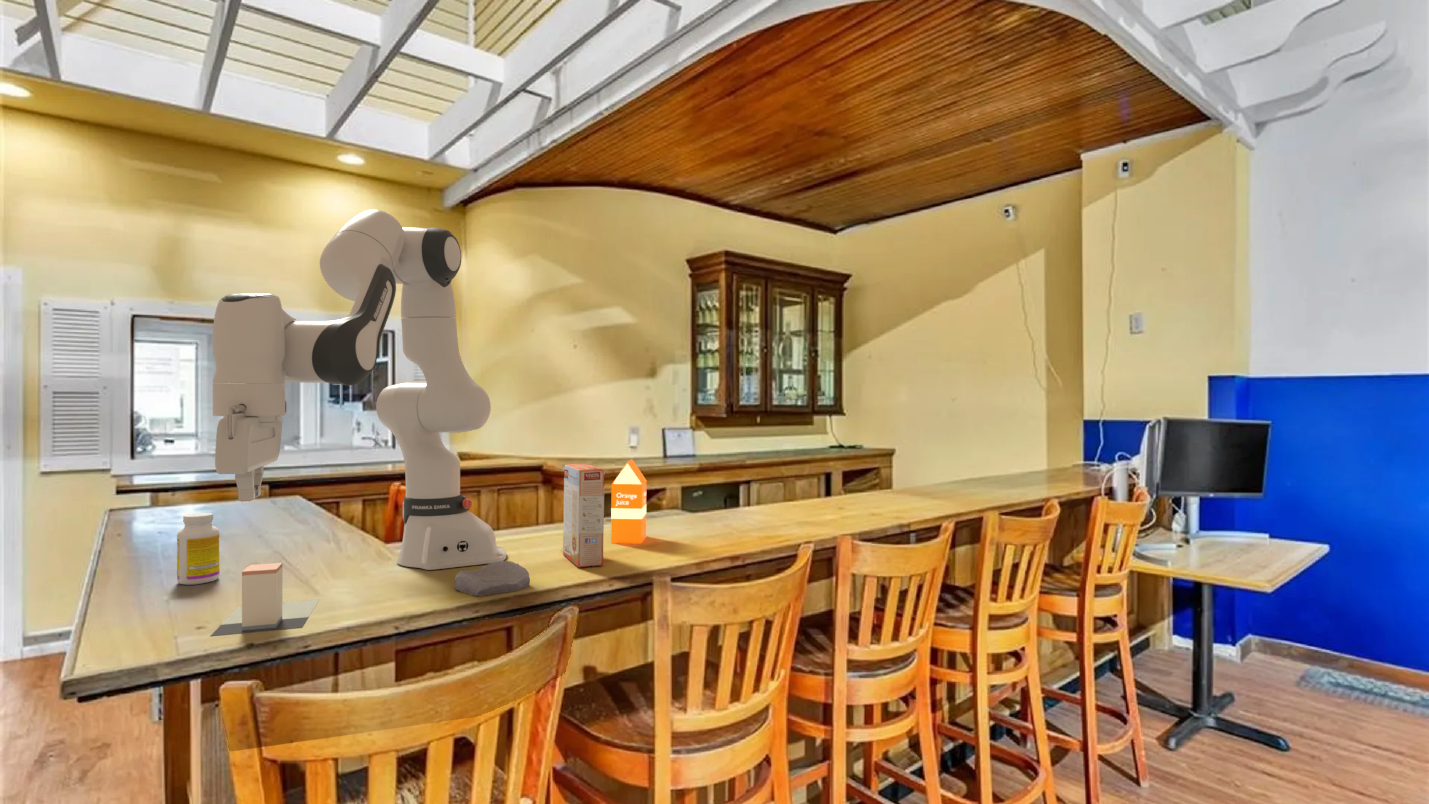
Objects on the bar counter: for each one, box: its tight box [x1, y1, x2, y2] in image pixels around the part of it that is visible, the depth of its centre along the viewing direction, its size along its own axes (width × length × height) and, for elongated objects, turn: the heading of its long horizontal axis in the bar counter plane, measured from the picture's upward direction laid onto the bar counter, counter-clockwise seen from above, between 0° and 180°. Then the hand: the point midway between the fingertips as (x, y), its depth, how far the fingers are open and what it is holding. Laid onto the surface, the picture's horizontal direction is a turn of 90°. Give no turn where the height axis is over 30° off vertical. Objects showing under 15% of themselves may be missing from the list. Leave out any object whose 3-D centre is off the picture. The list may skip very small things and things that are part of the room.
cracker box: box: [562, 463, 606, 568], centre depth 158 cm, size 14×6×21 cm, turn 25°
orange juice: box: [610, 458, 648, 544], centre depth 181 cm, size 8×9×20 cm
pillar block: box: [241, 562, 283, 631], centre depth 112 cm, size 4×4×9 cm
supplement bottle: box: [176, 512, 220, 586], centre depth 138 cm, size 7×7×13 cm
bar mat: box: [210, 599, 320, 637], centre depth 116 cm, size 12×16×1 cm
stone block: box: [453, 560, 531, 597], centre depth 135 cm, size 12×5×10 cm
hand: (249, 499), depth 104 cm, fingers closed
